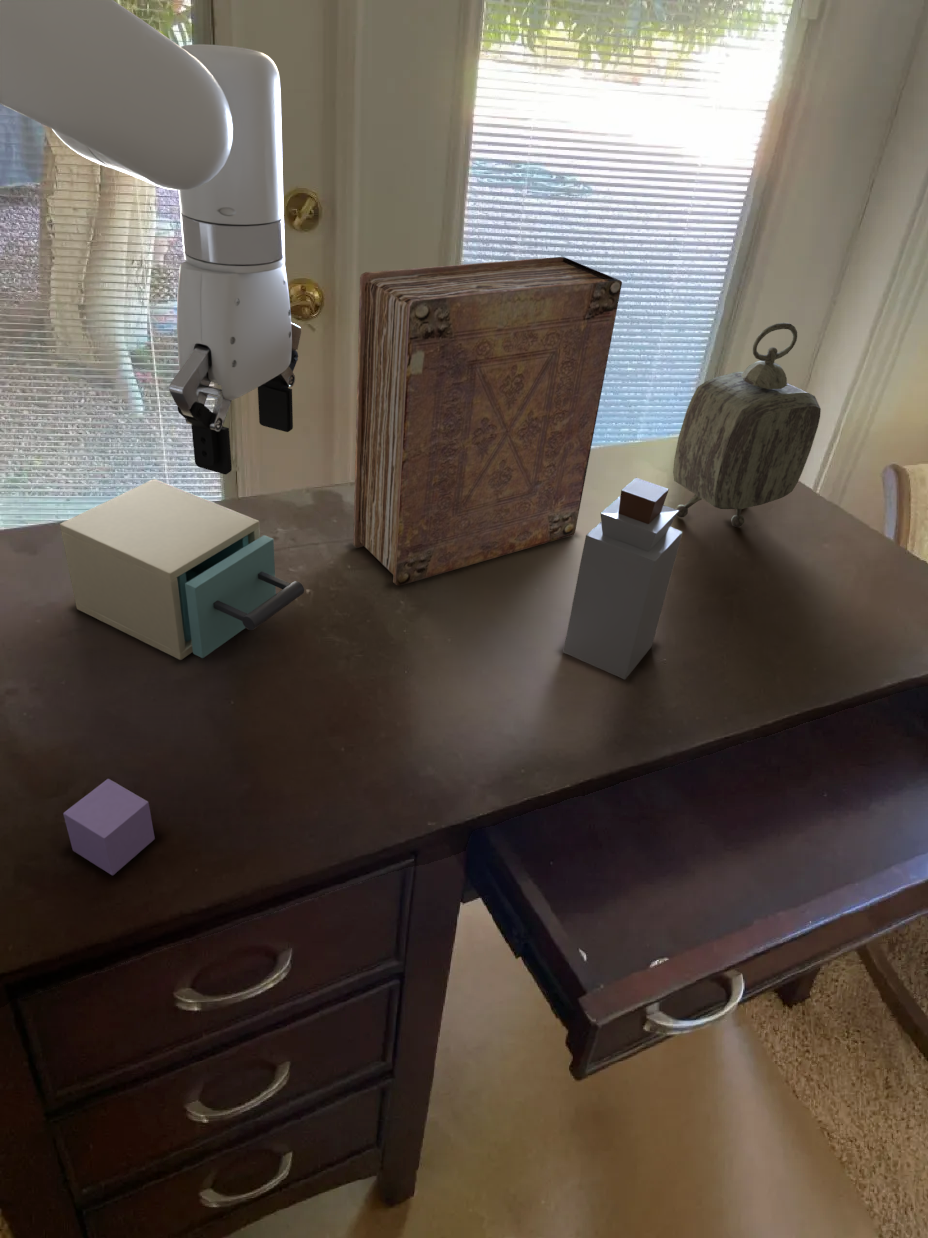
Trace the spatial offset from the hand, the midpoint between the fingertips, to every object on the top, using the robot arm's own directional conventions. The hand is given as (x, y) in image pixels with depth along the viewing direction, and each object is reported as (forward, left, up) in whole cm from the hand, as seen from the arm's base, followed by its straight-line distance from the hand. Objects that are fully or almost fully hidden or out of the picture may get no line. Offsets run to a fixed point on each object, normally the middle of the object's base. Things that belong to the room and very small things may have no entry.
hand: (246, 447), depth 77 cm
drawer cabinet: (-3, +8, -18) cm, 20 cm away
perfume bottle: (+17, -31, -19) cm, 40 cm away
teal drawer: (-3, +3, -18) cm, 18 cm away
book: (+26, -9, -19) cm, 34 cm away
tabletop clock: (+52, -33, -19) cm, 64 cm away
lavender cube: (-27, -10, -18) cm, 34 cm away
